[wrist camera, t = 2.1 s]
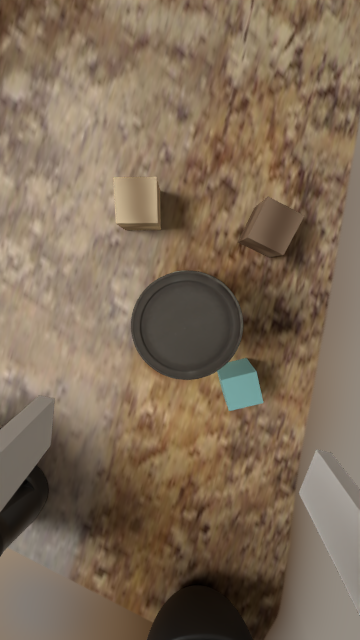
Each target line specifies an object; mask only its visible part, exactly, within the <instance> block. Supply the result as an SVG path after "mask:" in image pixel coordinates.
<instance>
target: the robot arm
mask: <svg viewBox="0 0 360 640" xmlns="http://www.w3.org/2000/svg"><path fill="white" fill-rule="evenodd" d="M54 402H55V398H50V397H45V396H40V395H39V396H38V397H37V398H36V399H34V400H33V401H32V402H31V403H30V404H29V405H28V406H26V407H25V408H24V409H23V410H22V411H21V412H20V413H18V414H17V415H16V416H15V417H14V418H13V419H12V420H10V421H9V422H8V423H7V424H6V425H5V426H4V427H2V428H1V429H0V556H1V555H2V553H3V552H4V550H5V549H6V548H7V547H8V546H9V545H10V544H11V543H12V542H13V541H14V540H15V539H16V538H17V537H18V536H19V535H20V534H21V533H22V532H23V531H24V530H25V529H26V528H27V527H28V526H29V525H30V524H31V523H32V522H33V521H34V520H35V518H36V517H37V516H38V514H39V513H40V511H41V509H42V507H43V506H44V504H45V502H46V500H47V497H48V484H47V481H46V478H45V476H44V474H43V473H42V471H41V470H40V469H39V468H38V467H37V466H36V464H37V463H38V462H39V460H40V459H41V458H42V456H43V455H44V454H45V452H46V451H47V450H48V448H49V447H50V446H51V437H52V425H53V414H54ZM299 494H300V496H301V498H302V500H303V502H304V504H305V507H306V509H307V510H308V512H309V514H310V517H311V519H312V521H313V523H314V525H315V526H316V529H317V531H318V533H319V535H320V537H321V539H322V541H323V543H324V545H325V547H326V549H327V551H328V553H329V555H330V557H331V559H332V561H333V563H334V565H335V567H336V569H337V571H338V573H339V575H340V577H341V579H342V581H343V583H344V585H345V587H346V589H347V591H348V593H349V595H350V597H351V599H352V601H353V603H354V605H355V607H356V610H357V611H358V614H359V616H360V489H359V488H358V486H357V485H356V484H355V482H354V481H353V480H352V479H351V477H350V476H349V475H348V473H347V472H346V471H345V470H344V468H343V467H342V466H341V464H340V463H339V462H338V461H337V459H336V458H335V457H334V455H333V454H332V453H331V452H326V451H321V450H316V452H315V455H314V457H313V459H312V462H311V464H310V467H309V469H308V472H307V474H306V477H305V479H304V482H303V484H302V486H301V489H300V492H299Z"/></svg>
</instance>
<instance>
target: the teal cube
mask: <svg viewBox="0 0 360 640" xmlns="http://www.w3.org/2000/svg"><path fill="white" fill-rule="evenodd" d="M217 372H218V376H219V380H220V384H221V388H222V392H223V395H224V398H225V401H226V404H227V406H228V409H229V411H231V410H236V409H240V408H244V407H248V406H252V405H256V404H261V403H263V399H262V394H261V390H260V385H259V381H258V376H257V371H256V370H255V369H254V367H253V366H252V365H251V363H250V362H249V361H248V359H247V358H244V359H240V360H236V361H232V362H229V363H227V364H226V365H224V366H223V367H222V368H221V369H219V370H218V371H217Z"/></svg>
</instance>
